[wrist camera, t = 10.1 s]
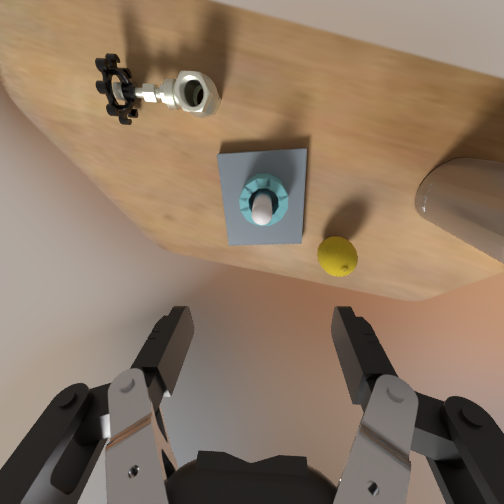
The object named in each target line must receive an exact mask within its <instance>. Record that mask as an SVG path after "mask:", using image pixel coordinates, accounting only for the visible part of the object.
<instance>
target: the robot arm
mask: <svg viewBox="0 0 504 504" xmlns="http://www.w3.org/2000/svg"><path fill="white" fill-rule="evenodd" d="M415 203H416V209H417V212H418V213H419V214H420V216H422V217H423V218H424V219H426V220H428V221H429V222H431V223H433V224H435V225H436V226H438V227H440V228H442V229H443V230H445V231H447V232H449V233H450V234H452V235H454V236H456V237H457V238H459V239H461V240H463V241H464V242H466V243H468V244H470V245H472V246H473V247H475V248H477V249H479V250H480V251H482V252H484V253H486V254H488V255H489V256H491V257H493V258H495V259H496V260H498V261H500V262H502V263H504V162H498V161H491V160H483V159H476V158H469V157H466V158H457V159H453V160H450V161H448V162H446V163H444V164H442V165H440V166H439V167H437V168H436V169H435V170H433V171H432V172H431V173H430V174H429V175H428V176H427V177H426V178H425V179H424V181H423V182H422V184H421V185H420V187H419V189H418V192H417V194H416V199H415ZM193 334H194V324H193V320H192V317H191V313H190V309H189V307H188V306H174V307H173V308H172V310H171V312H170V314H169V315H168V316H163V317H162V318H161V319H160V320H159V321H158V322H157V323H156V324H155V326H154V328H153V330H152V333H150V335H149V337H148V340H146V342H145V344H144V346H143V347H142V349H141V351H140V352H139V354H138V356H137V358H136V359H135V361H134V363H133V364H132V366H131V368H130V369H128V370H126V371H124V372H122V373H121V374H119V375H118V376H117V377H116V378H115V379H114V380H113V381H112V383H109V384H105V385H102V386H98V387H95V388H92V389H89V388H88V387H87V385H86V384H83V383H77V384H73V385H71V386H69V387H67V388H65V389H64V390H62V391H61V392H60V393H59V394H57V395H56V397H54V399H53V400H52V401H51V403H50V404H49V405H48V406H47V408H46V409H45V411H44V412H43V413H42V415H41V416H40V417H39V419H38V420H37V421H36V423H35V424H34V425H33V427H32V428H31V429H30V431H29V432H28V433H27V435H26V436H25V438H24V439H23V440H22V441H21V443H20V444H19V445H18V447H17V448H16V450H15V451H14V452H13V454H12V455H11V456H10V458H9V459H8V460H7V462H6V463H5V464H4V466H3V467H2V468H1V470H0V504H77V503H78V500H79V498H80V496H81V494H82V492H83V490H84V488H85V486H86V483H87V481H88V479H89V477H90V475H91V473H92V471H93V468H94V466H95V464H96V462H97V460H98V458H99V456H100V454H101V451H102V449H103V447H104V445H105V443H106V441H107V439H108V437H110V436H111V440H110V443H108V444H107V446H106V449H105V466H106V489H107V504H405V503H406V497H407V490H408V484H409V479H410V472H411V462H410V461H409V453H410V450H412V451H415V452H417V453H420V454H422V455H424V456H426V459H427V461H428V463H429V465H430V467H431V470H432V472H433V474H434V477H435V479H436V481H437V484H438V486H439V488H440V491H441V493H442V495H443V498H444V500H445V502H446V504H504V433H503V432H502V431H501V429H500V428H499V427H498V425H497V424H496V423H495V421H494V420H493V418H492V417H491V416H490V415H489V414H488V413H487V412H486V411H485V410H484V409H483V408H481V407H480V406H479V405H477V404H476V403H474V402H472V401H470V400H468V399H466V398H463V397H459V396H452V397H449V398H447V400H446V401H445V402H444V401H441V400H438V399H435V398H432V397H429V396H426V395H423V394H420V393H418V392H416V391H414V390H413V389H412V388H411V387H410V386H409V385H408V384H407V383H406V382H405V381H403V380H402V379H400V378H399V377H398V375H397V374H396V372H395V370H394V368H393V366H392V365H391V363H390V361H389V359H388V357H387V355H386V353H385V351H384V349H383V348H382V346H381V344H380V343H379V340H378V338H377V336H376V335H375V332H374V330H373V329H372V327H371V325H370V324H369V323H368V322H367V321H366V320H365V319H364V318H363V317H356V316H355V314H354V312H353V310H352V308H351V307H350V306H348V307H346V306H344V307H343V306H337V307H335V308H334V313H333V319H332V324H331V334H332V338H333V342H334V345H335V348H336V351H337V355H338V358H339V361H340V365H341V368H342V371H343V374H344V377H345V380H346V384H347V387H348V390H349V394H350V397H351V400H352V403H353V404H359V405H361V406H362V409H363V412H364V414H363V417H362V419H361V422H360V425H359V428H358V431H357V433H356V436H355V439H354V442H353V444H352V447H351V450H350V453H349V455H348V458H347V461H346V464H345V466H344V469H343V472H342V474H341V477H340V480H339V483H338V485H337V487H336V486H335V485H334V484H333V483H332V482H331V481H330V480H329V479H328V478H327V477H326V476H325V475H323V474H322V473H321V472H319V471H318V470H316V469H314V468H313V467H311V466H308V465H307V458H306V457H301V456H284V455H278V456H275V457H271V458H268V459H264V460H261V461H258V462H254V463H249V462H246V461H244V460H241V459H239V458H237V457H234V456H232V455H230V454H227V453H225V452H214V451H198V455H197V459H196V460H193V461H191V462H189V463H187V464H185V465H184V466H182V467H180V468H179V469H178V465H177V462H176V459H175V456H174V454H173V451H172V448H171V445H170V442H169V437H168V434H167V430H166V426H165V422H164V418H163V414H162V410H161V407H160V403H161V400H162V398H163V396H165V397H171V396H172V393H173V390H174V387H175V385H176V382H177V379H178V376H179V373H180V371H181V368H182V365H183V362H184V359H185V357H186V354H187V351H188V349H189V346H190V343H191V340H192V337H193Z"/></svg>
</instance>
